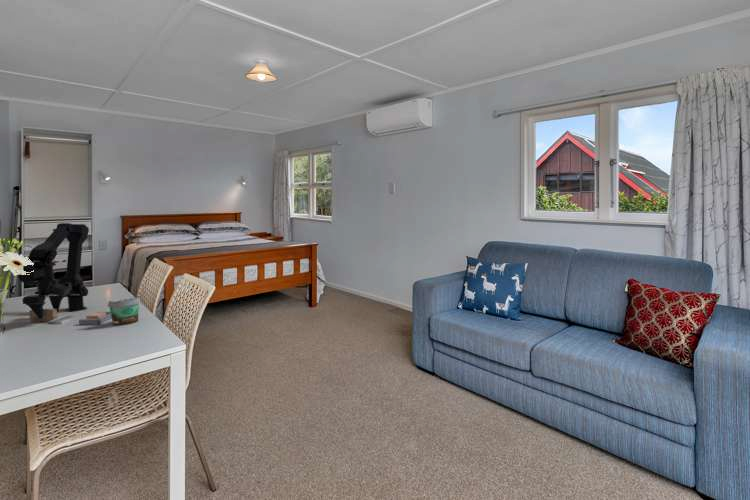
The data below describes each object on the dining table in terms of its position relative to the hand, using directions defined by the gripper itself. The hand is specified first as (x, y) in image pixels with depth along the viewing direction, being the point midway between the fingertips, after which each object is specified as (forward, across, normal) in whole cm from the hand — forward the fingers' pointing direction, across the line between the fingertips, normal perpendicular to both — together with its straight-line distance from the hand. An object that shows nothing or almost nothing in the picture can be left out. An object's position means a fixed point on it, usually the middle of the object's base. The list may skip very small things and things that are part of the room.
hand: (48, 315), depth 172 cm
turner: (+3, 0, 0) cm, 3 cm away
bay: (+2, 0, -19) cm, 19 cm away
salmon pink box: (+3, 0, -19) cm, 19 cm away
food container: (+3, -4, -34) cm, 34 cm away
